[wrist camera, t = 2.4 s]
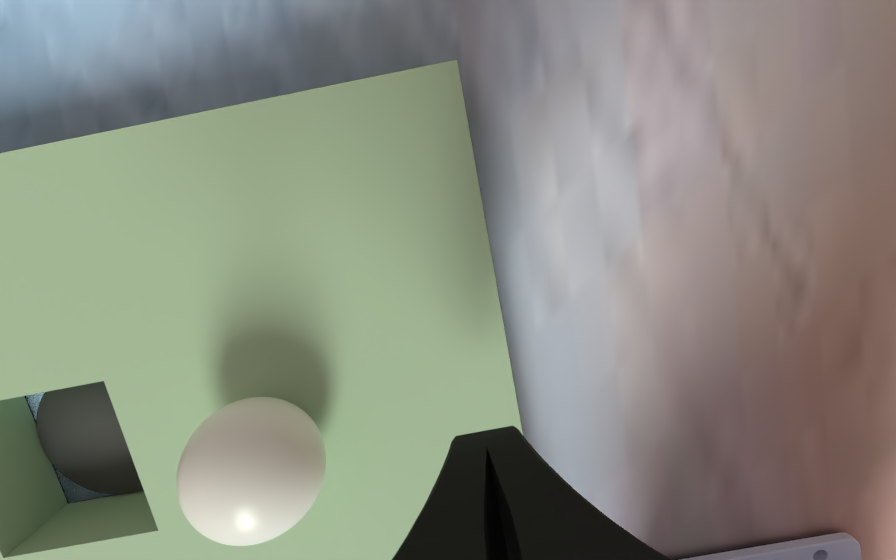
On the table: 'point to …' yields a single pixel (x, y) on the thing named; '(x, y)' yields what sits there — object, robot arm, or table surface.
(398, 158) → the putting mat
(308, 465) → the ball
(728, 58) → the table surface
